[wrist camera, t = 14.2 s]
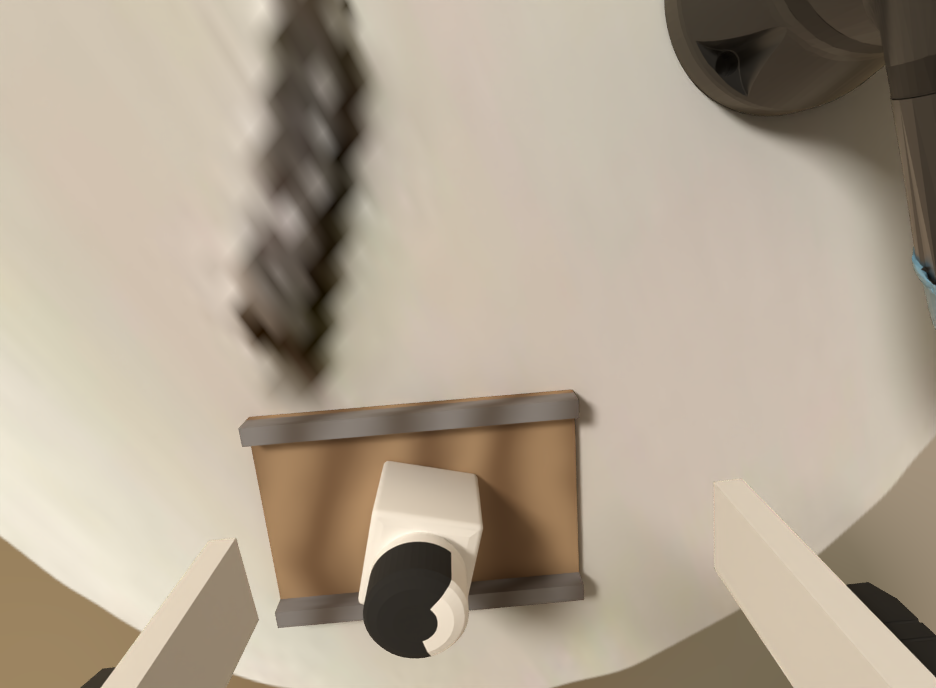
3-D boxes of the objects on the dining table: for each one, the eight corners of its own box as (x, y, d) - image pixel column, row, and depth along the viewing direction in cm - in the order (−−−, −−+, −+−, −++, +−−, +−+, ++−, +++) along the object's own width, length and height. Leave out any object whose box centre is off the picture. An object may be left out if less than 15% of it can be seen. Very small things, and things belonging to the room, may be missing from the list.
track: (572, 389, 41) (578, 399, 39) (577, 581, 45) (583, 599, 43) (248, 417, 40) (238, 428, 38) (285, 608, 45) (277, 627, 43)
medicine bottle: (371, 540, 43) (343, 667, 31) (384, 458, 41) (360, 560, 29) (461, 553, 43) (466, 682, 32) (478, 472, 42) (490, 578, 30)
